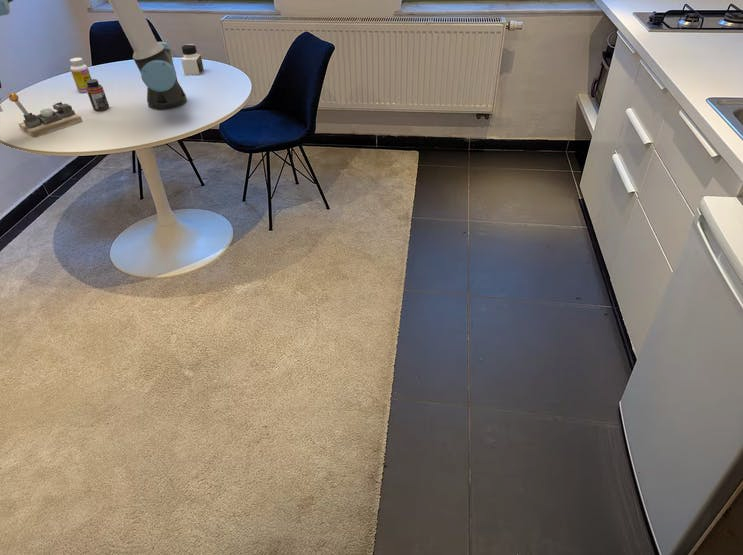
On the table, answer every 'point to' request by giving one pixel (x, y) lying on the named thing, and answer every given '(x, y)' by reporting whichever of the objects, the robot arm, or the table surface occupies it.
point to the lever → (18, 103)
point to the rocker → (58, 107)
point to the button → (46, 113)
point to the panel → (49, 121)
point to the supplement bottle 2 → (97, 95)
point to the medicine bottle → (191, 60)
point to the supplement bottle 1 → (80, 74)
